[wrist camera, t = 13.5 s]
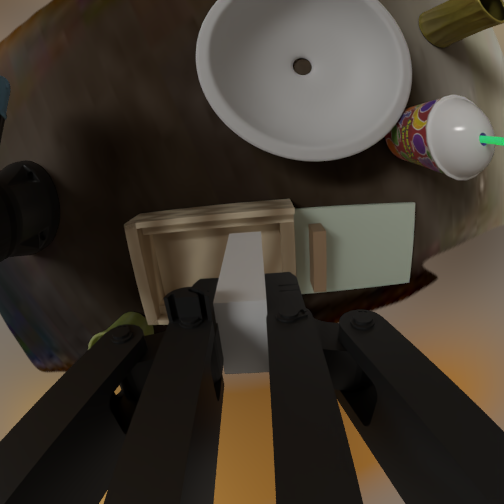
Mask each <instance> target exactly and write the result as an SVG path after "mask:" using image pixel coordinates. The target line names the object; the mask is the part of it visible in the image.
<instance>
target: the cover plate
mask: <svg viewBox="0 0 504 504" xmlns="http://www.w3.org/2000/svg"><path fill="white" fill-rule="evenodd" d="M414 222H415V203H414V202H405V203H380V204H359V205H341V206H324V207H309V208H295V214H294V231H295V252H296V276H297V280H298V284H299V287H300V290H301V294H309V293H320V292H331V291H340V290H350V289H359V288H368V287H377V286H385V285H394V284H402V283H409V280H410V271H411V262H412V251H413V239H414Z"/></svg>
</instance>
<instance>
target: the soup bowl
mask: <svg viewBox="0 0 504 504" xmlns="http://www.w3.org/2000/svg"><path fill="white" fill-rule="evenodd" d="M299 58H304V59H307V60H308V61H309V62H310V63H311V65H312V70H311V72H310V73H309V74H307V75H299V74H297V73H296V72H295V71H294V69H293V63H294V61H295V60H297V59H299ZM196 67H197V73H198V77H199V81H200V84H201V87H202V90H203V92H204V94H205V96H206V98H207V100H208V102H209V104H210V105H211V107H212V109H213V110H214V111H215V113H216V114H217V115H218V117H219V118H220V119H221V120H222V121H223V122H224V123H225V124H226V125H227V126H228V127H229V128H230V129H231V130H232V131H233V132H234V133H236V134H237V135H238V136H240V137H241V138H242V139H244V140H245V141H247V142H249V143H250V144H252V145H254V146H256V147H258V148H260V149H262V150H264V151H266V152H269V153H271V154H274V155H277V156H280V157H284V158H288V159H293V160H300V161H315V162H319V161H331V160H337V159H342V158H345V157H349V156H352V155H355V154H357V153H360V152H362V151H364V150H366V149H368V148H369V147H371V146H373V145H374V144H376V143H377V142H378V141H380V140H381V139H382V138H383V137H385V136H386V135H387V134H388V133H389V132H390V131H391V129H392V128H393V127H394V126H395V125H396V123H397V122H398V120H399V119H400V117H401V116H402V114H403V112H404V110H405V108H406V105H407V102H408V99H409V96H410V92H411V85H412V63H411V57H410V52H409V49H408V45H407V43H406V40H405V38H404V35H403V33H402V31H401V29H400V27H399V26H398V24H397V23H396V21H395V20H394V18H393V17H392V16H391V14H390V13H389V12H388V10H387V9H386V8H385V7H384V6H383V5H382V4H381V3H380V2H379V1H378V0H217V2H216V3H215V4H214V5H213V6H212V8H211V9H210V11H209V12H208V14H207V16H206V18H205V20H204V22H203V24H202V26H201V29H200V32H199V36H198V40H197V46H196Z"/></svg>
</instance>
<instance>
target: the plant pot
mask: <svg viewBox="0 0 504 504" xmlns="http://www.w3.org/2000/svg"><path fill="white" fill-rule="evenodd" d="M123 324H134V325H137V326H139V327H140V328H141V329H142V330H143V333H144V336H146V335H151V334H154V328H153V326H152V325H148V323H147V320H146V318H145V317H144V316H142V315H141V314H140V313H136V312H128V313H125V314H123V315H122V316H121V317H120V318H119V319H118V320H117V321H116V322H115V323H114V324H113V325H111V326H110V327H109V328H108V329H107V330H105V331H103V332H100V333H98V334H96V335H95V336H93V337H92V339H91V340H90V342H89V349H90V348H91V347H92V346H93V345H94V344H95V343H96V342H97V341H98V340H99V339H100V338H101V337H102V336H103V335H104V334H105V333H106V332H108V331H109V330H110V329H112V328H114V327H117V326H119V325H123Z"/></svg>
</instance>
